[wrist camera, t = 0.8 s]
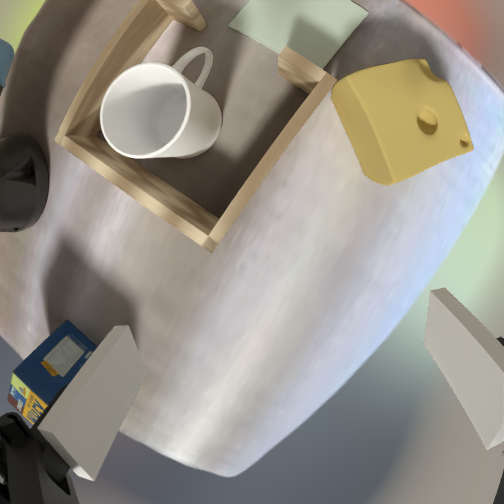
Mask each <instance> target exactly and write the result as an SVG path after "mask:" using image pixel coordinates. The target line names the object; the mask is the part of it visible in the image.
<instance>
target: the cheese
mask: <svg viewBox="0 0 504 504" xmlns="http://www.w3.org/2000/svg"><path fill="white" fill-rule="evenodd" d="M331 99H332V102H333V104H334V106H335V108H336V110H337V113H338V115H339V117H340V119H341V122H342V124H343V126H344V128H345V131H346V133H347V135H348V137H349V140H350V142H351V144H352V146H353V148H354V151H355V153H356V155H357V157H358V160H359V162H360V165H361V168H362V170H363V173H364V175H365V176H367V177H368V178H369V179H371V180H372V181H374V182H376V183H379V184H382V185H392V184H395V183H398V182H400V181H403V180H405V179H408V178H410V177H412V176H414V175H416V174H418V173H420V172H422V171H424V170H426V169H428V168H430V167H432V166H434V165H437V164H439V163H441V162H443V161H446V160H448V159H450V158H453V157H456V156H459V155H462V154H465V153H467V152H470V151H473V150H474V148H473V144H472V141H471V137H470V134H469V131H468V128H467V125H466V122H465V119H464V117H463V114H462V111H461V109H460V106H459V104H458V102H457V99H456V97H455V95H454V92H453V90H452V88H451V86H450V85H449V83H448V82H447V81H445V80H444V79H440V78H438V77H436V76H435V75H434V74H433V73H432V71H431V69H430V67H429V65H428V63H427V61H426V60H425V59H417V60H416V59H407V60H401V61H397V62H393V63H388V64H384V65H379V66H374V67H370V68H366V69H363V70H360V71H357V72H354V73H351V74H349V75H347V76H345V77H343V78H342V79H340V80H339V81H338V82H336V83H335V84H334V86H333V88H332V96H331Z"/></svg>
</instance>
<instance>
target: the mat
mask: <svg viewBox="0 0 504 504" xmlns="http://www.w3.org/2000/svg"><path fill="white" fill-rule="evenodd" d="M368 14H369V12H367V11H366V10H364V9H363V8H361V7H360V6H358V5H357V4H355V3H353V2H352V1H350V0H250V1H249V2H248V3H247V4H246V5H245V6H244V8H243V9H242V10H241V11H240V12H239V13H238V14H237V15H236V16H235V18H234V19H233V20H232V21H231V22H230V23H229V25H228V27H230V28H232V29H234V30H236V31H238V32H240V33H242V34H244V35H246V36H248V37H249V38H251V39H253V40H255V41H257V42H259V43H260V44H262V45H264V46H266V47H268V48H269V49H271V50H273V51H274V52H276V53H278V54H279V53H280V52H281V51H282V50H283V49H284V47H285V46H287V47H288V48H290V49H292V50H293V51H295V52H297V53H298V54H300V55H301V56H303V57H305V58H306V59H308V60H309V61H311V62H312V63H314V64H315V65H317V66H318V67H320V68H321V69H323V68H324V67H325V66H326V64H327V63H328V62H329V61H330V59H331V58H332V57H333V56H334V54H335V53H336V52H337V51H338V50H339V48H340V47H341V46H342V45H343V43H344V42H345V41H346V40H347V39H348V37H349V36H350V35H351V34H352V33H353V31H354V30H355V29H356V28H357V27H358V25H359V24H360V23H361V22H362V21H363V19H364V18H365V17H366V16H367V15H368Z"/></svg>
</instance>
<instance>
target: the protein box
mask: <svg viewBox="0 0 504 504" xmlns="http://www.w3.org/2000/svg"><path fill="white" fill-rule="evenodd" d="M96 349H97V346H96V345H95V344H94V343H93V342H92V341H90V340H89V339H88V338H87V337H86V336H85V335H84V334H83V333H81V332H80V331H79V330H78V329H77V328H76V327H75V326H74V325H73V324H72V323H71V322H70V321H68V320H66V321H65V322H64V323H63V324H62V325H61V326H60V327H59V328H57V329H56V330H55V331H54V332H53V333H52V334H51V335H50V336H49V337H48V338H47V339H46V340H45V341H44V342H42V343H41V344H40V345H39V346H38V347H37V348H36V349H35V350H34V351H33V352H32V353H31V354H30V355H29V356H28V357H27V358H26V359H25V360H24V361H23V362H22V363H21V364H20V365H19V366H18V367H17V368H16V369H15V370H14V371H13V372H12V378H11V384H10V389H9V393H8V398H7V400H8V402H9V403H10V404H12V406H14V407H15V408H16V409H17V410H18V411H19V412H20V413H21V414H22V415H23V416H24V417H26V418H27V419H28V420H29V421H30V422H31V423H32V424H33V425H34V424H35V422H36V421H37V419H38V418H39V417H40V415H41V414H42V413H43V411H44V410H45V408H46V407H47V406H48V404H49V403H50V402H51V400H53V398H54V396H55V395H56V394H57V392H58V391H59V390H60V389H61V388H62V387H64V386H65V385H66V384H68V383H70V382H71V381H72V380H73V378H74V377H75V376H76V374H77V373H78V372H79V370H80V369H81V368H82V367H83V365H84V364H85V363H86V361H87V360H88V359H89V357H90V356H91V355H92V354H93V352H94V351H95V350H96Z"/></svg>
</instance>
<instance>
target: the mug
mask: <svg viewBox="0 0 504 504" xmlns="http://www.w3.org/2000/svg"><path fill="white" fill-rule="evenodd" d="M202 53H205V64H204V67H203V70H202V72H201V74H200V76H199V78H198V80H197V81H196V82H195V84H193V83H192V82H191V81H190V80H188V79H187V78H186V77H185V76H183V75H182V74H181V73H182V71H183V69H184V68H185V66H186V65H187V64H188V63H189V62H190V61H191V60H192V59H194V58H195V57H196V56H198V55H200V54H202ZM212 63H213V55H212V52H211V51H210V50H209V49H207V48H205V47H196V48H194V49H192V50H190V51H188V52H187V53H186V54H184V55H183V56H182V57H181V58H180V59H179V60H178V61H177V62H176V63H175V64H174V65H173V66H169V65H166V64H163V63H158V62H146V63H141V64H138V65H135V66H133V67H130V68H129V69H127V70H125V71H124V72H123V73H121V74H120V75H119V76H118V77H117V78H116V79H115V80H114V81H113V82H112V84H111V85H110V86H109V88H108V90H107V92H106V94H105V96H104V98H103V101H102V105H101V110H100V123H101V129H102V132H103V135H104V137H105V139H106V140H107V142H108V143H109V145H110V146H111V147H112V148H113V149H114V150H115V151H117V152H118V153H120V154H122V155H124V156H127V157H131V158H157V157H175V158H182V159H184V158H192V157H195V156H198V155H200V154H202V153H204V152H205V151H206V150H208V149H209V148H210V147H211V146H212V145H213V143H214V142H215V141H216V139H217V137H218V135H219V133H220V130H221V125H222V115H221V110H220V107H219V105H218V103H217V102H216V100H215V99H214V98H213V97H212V96H211V95H210V94H209V93H208V92H206V91H204V90H202V87H203V85H204V83H205V81H206V79H207V77H208V75H209V73H210V70H211V67H212Z"/></svg>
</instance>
